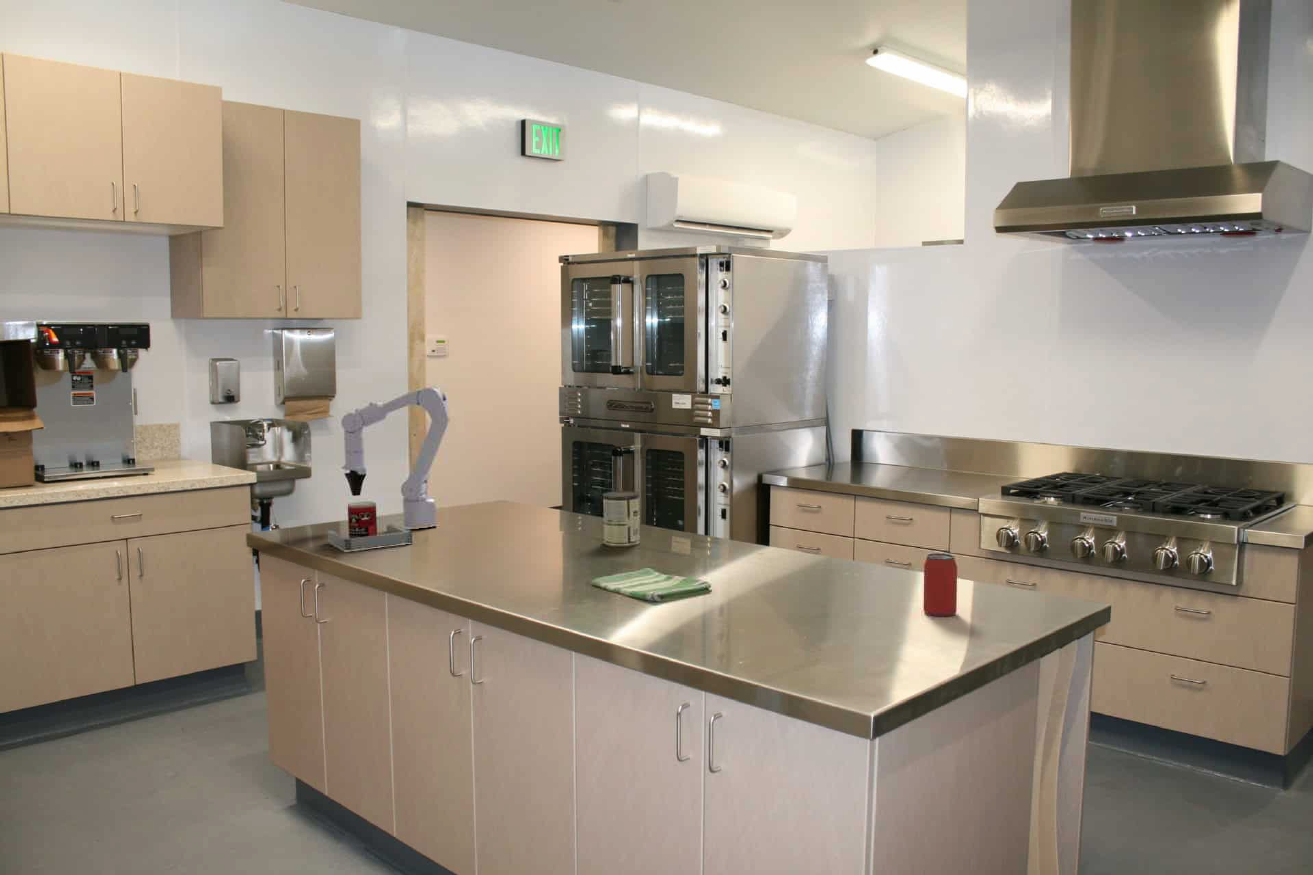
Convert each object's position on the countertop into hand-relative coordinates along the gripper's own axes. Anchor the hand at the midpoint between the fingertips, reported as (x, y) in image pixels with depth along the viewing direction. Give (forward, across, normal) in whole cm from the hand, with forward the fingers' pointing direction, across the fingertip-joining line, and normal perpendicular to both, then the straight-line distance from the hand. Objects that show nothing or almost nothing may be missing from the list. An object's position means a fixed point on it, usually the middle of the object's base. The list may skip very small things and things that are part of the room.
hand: (356, 495), depth 312 cm
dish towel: (+11, +118, +30) cm, 122 cm away
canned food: (+11, +21, -5) cm, 24 cm away
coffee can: (+11, +69, +53) cm, 88 cm away
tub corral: (+10, +26, -5) cm, 28 cm away
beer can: (+11, +172, +65) cm, 184 cm away
